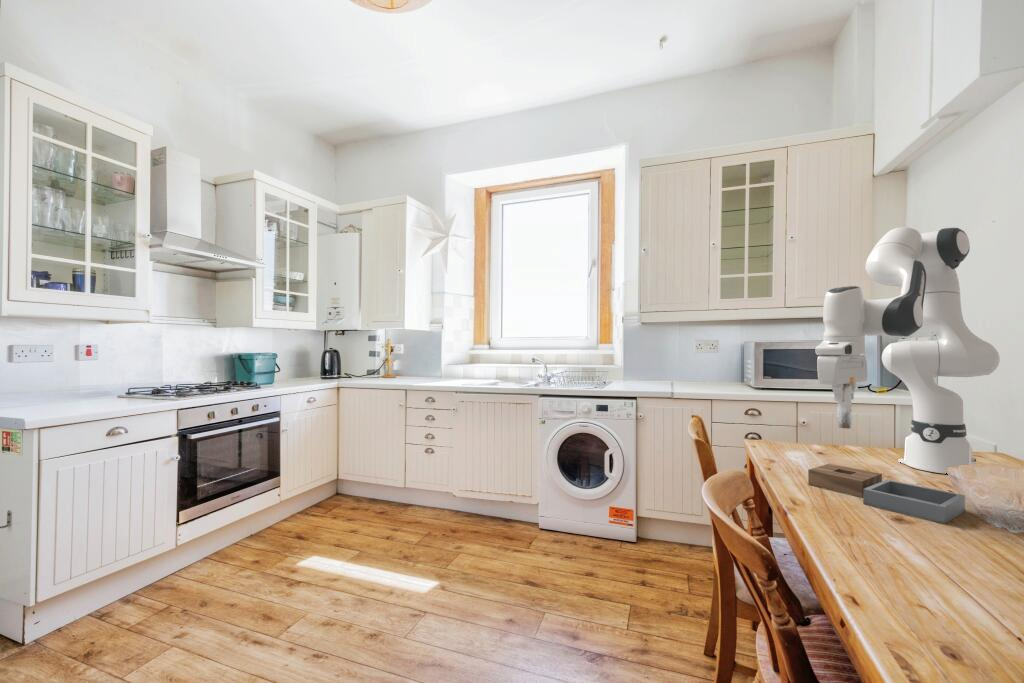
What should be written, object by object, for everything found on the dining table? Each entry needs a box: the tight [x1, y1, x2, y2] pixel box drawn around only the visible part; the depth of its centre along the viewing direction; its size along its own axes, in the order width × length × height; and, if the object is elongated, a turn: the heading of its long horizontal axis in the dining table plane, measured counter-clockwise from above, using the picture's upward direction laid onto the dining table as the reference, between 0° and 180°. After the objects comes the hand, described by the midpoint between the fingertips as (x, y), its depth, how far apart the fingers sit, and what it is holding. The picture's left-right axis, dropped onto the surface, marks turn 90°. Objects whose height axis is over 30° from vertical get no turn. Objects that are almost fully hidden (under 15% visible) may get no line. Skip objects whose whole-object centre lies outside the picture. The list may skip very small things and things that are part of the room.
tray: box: [863, 479, 966, 525], centre depth 102 cm, size 14×14×4 cm
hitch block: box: [807, 463, 883, 498], centre depth 117 cm, size 12×12×4 cm
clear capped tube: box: [836, 378, 855, 429], centre depth 117 cm, size 4×4×13 cm
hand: (844, 400), depth 117 cm, fingers closed on clear capped tube, 4 cm apart
